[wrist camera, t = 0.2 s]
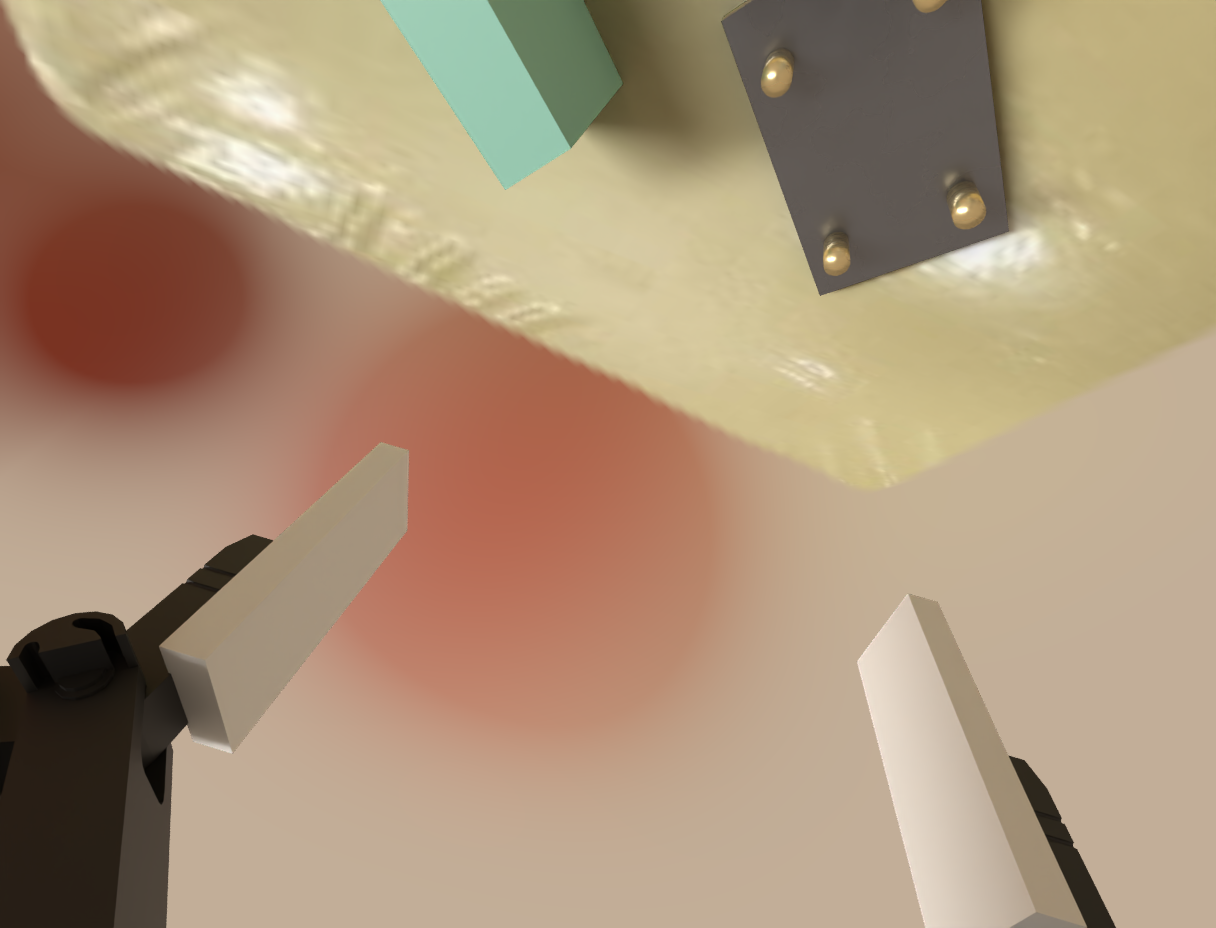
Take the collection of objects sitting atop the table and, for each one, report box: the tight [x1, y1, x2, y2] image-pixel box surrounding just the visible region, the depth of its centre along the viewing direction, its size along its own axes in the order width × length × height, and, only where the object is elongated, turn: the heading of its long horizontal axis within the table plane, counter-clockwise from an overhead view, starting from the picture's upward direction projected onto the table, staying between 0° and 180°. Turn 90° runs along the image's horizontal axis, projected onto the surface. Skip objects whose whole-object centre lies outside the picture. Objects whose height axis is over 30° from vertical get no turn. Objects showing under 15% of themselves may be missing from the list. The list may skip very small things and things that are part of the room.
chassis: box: [721, 0, 1009, 296], centre depth 28 cm, size 10×16×4 cm, turn 32°
